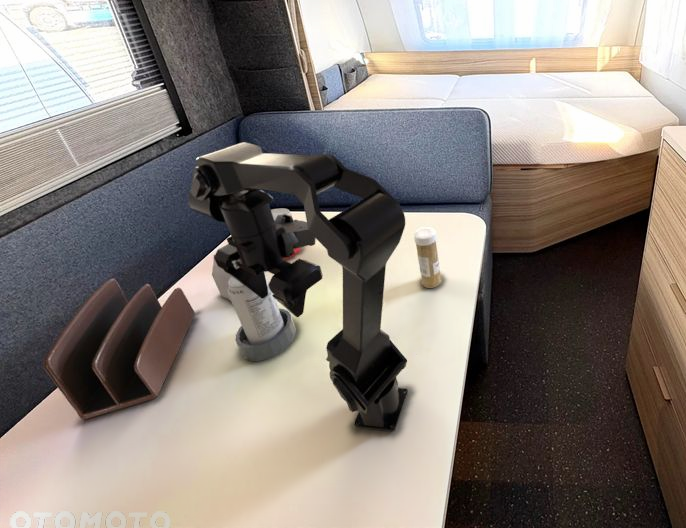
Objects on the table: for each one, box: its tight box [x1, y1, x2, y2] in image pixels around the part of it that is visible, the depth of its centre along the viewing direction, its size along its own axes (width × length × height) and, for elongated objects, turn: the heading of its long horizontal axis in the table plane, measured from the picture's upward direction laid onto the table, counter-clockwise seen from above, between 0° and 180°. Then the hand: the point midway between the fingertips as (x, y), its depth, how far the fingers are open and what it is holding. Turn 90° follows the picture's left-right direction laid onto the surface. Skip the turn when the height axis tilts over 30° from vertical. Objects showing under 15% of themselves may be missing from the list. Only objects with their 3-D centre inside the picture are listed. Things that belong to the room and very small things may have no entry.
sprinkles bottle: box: [413, 226, 443, 289], centre depth 84 cm, size 5×5×14 cm
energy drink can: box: [228, 274, 285, 345], centre depth 70 cm, size 6×6×15 cm
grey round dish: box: [234, 308, 297, 362], centre depth 73 cm, size 9×9×4 cm
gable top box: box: [211, 254, 232, 301], centre depth 83 cm, size 4×7×10 cm, turn 65°
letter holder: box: [43, 278, 196, 421], centre depth 67 cm, size 10×20×14 cm, turn 21°
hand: (281, 305), depth 64 cm, fingers open, 9 cm apart
